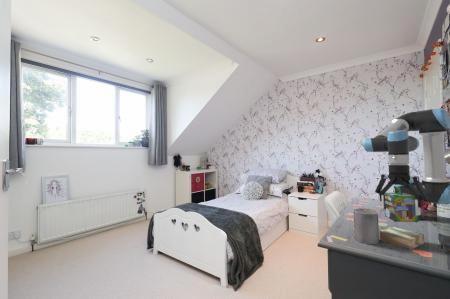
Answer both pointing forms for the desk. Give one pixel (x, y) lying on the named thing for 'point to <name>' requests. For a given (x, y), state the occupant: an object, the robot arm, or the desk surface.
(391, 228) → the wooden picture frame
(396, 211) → the chalk box
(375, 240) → the pillar candle
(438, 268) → the desk surface
